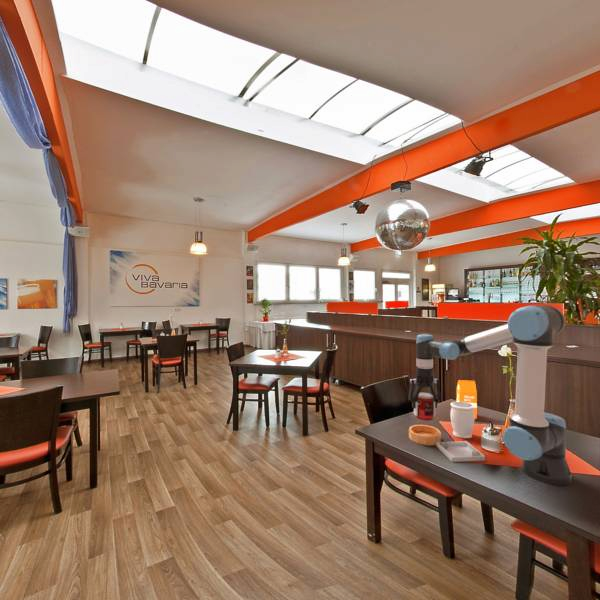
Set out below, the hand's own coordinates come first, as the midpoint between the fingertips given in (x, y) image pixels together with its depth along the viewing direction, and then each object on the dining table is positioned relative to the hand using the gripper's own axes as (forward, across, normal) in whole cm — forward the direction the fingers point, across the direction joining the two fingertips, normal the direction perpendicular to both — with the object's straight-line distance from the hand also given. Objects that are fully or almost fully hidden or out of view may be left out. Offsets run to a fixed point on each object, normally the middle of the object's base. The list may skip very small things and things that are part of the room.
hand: (424, 414), depth 158 cm
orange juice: (+12, -36, -28) cm, 47 cm away
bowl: (+12, 0, 0) cm, 12 cm away
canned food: (+2, 0, 0) cm, 2 cm away
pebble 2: (+11, -14, +20) cm, 26 cm away
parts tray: (+12, -9, +15) cm, 21 cm away
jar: (+12, -20, -3) cm, 23 cm away
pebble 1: (+11, -5, +11) cm, 16 cm away
